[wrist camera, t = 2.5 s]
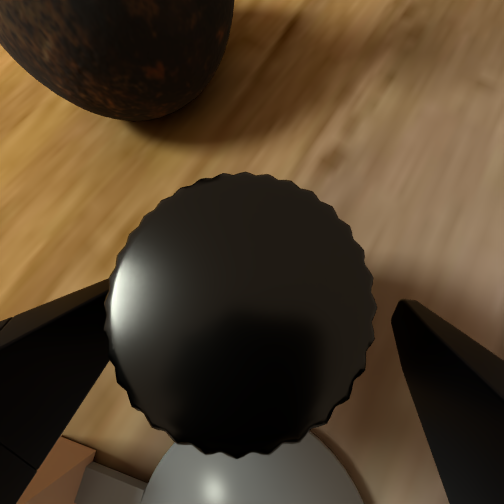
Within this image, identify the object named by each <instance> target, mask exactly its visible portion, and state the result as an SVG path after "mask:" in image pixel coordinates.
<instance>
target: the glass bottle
mask: <svg viewBox="0 0 504 504" xmlns="http://www.w3.org/2000/svg"><path fill="white" fill-rule="evenodd" d="M233 9H234V0H0V44H1V45H2V46H3V48H4V49H5V50H6V51H7V52H8V53H9V54H10V55H11V56H12V58H13V59H14V60H15V61H16V62H17V63H18V64H19V65H21V66H22V67H23V68H24V69H25V70H26V71H27V72H28V73H29V74H30V75H32V76H33V77H34V78H35V79H37V80H38V81H39V82H41V83H42V84H43V85H45V86H46V87H47V88H49V89H50V90H51V91H53V92H54V93H56V94H57V95H59V96H61V97H62V98H64V99H66V100H68V101H69V102H71V103H73V104H75V105H76V106H78V107H81V108H83V109H85V110H87V111H90V112H92V113H95V114H98V115H101V116H104V117H109V118H113V119H119V120H128V121H140V120H150V119H155V118H159V117H162V116H165V115H168V114H170V113H172V112H174V111H176V110H178V109H180V108H182V107H183V106H185V105H186V104H188V103H189V102H190V101H192V100H193V99H194V98H195V97H196V96H198V95H199V94H200V93H201V91H202V90H203V89H204V88H205V87H206V85H207V84H208V83H209V81H210V80H211V78H212V77H213V75H214V73H215V71H216V70H217V68H218V66H219V64H220V61H221V59H222V57H223V54H224V51H225V48H226V45H227V41H228V38H229V33H230V28H231V23H232V17H233Z"/></svg>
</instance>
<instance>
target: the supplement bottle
mask: <svg viewBox="0 0 504 504" xmlns="http://www.w3.org/2000/svg"><path fill="white" fill-rule="evenodd" d="M364 258H365V255H364V250H363V249H362V247H361V246H360V245H359V244H358V243H357V242H356V241H355V240H354V239H353V236H352V231H351V228H350V226H349V225H348V224H346V223H345V222H344V221H342V220H340V219H339V218H338V216H337V214H336V212H335V210H334V208H333V207H332V206H330V205H328V204H326V203H324V202H321V201H320V200H319V199H318V198H317V196H316V195H315V194H314V192H313V191H309V190H305V189H300V188H299V187H298V186H297V185H296V184H295V183H293V182H292V181H289V180H278V179H276V178H274V177H273V176H271V175H269V174H264V175H257V176H256V175H253V174H251V173H248V172H242V173H239V174H236V175H230V174H226V173H222V174H220V175H218V176H216V177H214V178H203V179H200V180H198V181H197V182H196V183H194V184H193V185H191V186H186V187H182V188H180V189H179V190H178V191H176V193H175V194H174V195H173V196H171V197H168V198H166V199H163V200H161V201H160V203H159V204H158V205H157V207H156V208H155V209H154V210H153V211H151V212H149V213H148V214H146V215H145V216H144V217H143V219H142V220H141V222H140V224H139V226H138V227H137V228H136V229H135V230H133V231H132V232H131V233H130V234H129V236H128V239H127V243H126V245H125V247H124V248H123V249H122V250H121V251H120V252H119V254H118V255H117V259H116V266H115V269H114V270H113V272H112V273H111V275H110V277H109V292H108V294H107V296H106V299H105V302H104V308H105V311H106V319H105V323H104V329H103V330H104V333H105V336H106V337H107V340H108V358H109V359H110V361H111V362H112V364H113V365H114V366H115V372H116V380H117V383H118V384H119V385H120V386H121V387H122V388H124V389H125V390H126V391H127V394H128V397H129V400H130V403H131V406H132V407H133V408H135V409H136V410H138V411H141V412H142V413H144V415H145V417H146V419H147V421H148V422H149V424H150V425H151V427H152V428H154V429H157V430H162V431H165V432H166V433H167V434H168V435H169V436H170V438H171V439H172V440H173V441H174V442H175V443H176V444H178V445H192V446H194V447H195V448H196V449H197V450H198V451H200V452H201V453H203V454H204V455H212V454H215V453H220V452H221V453H223V454H225V455H227V456H229V457H232V458H234V459H239V458H242V457H245V456H246V455H247V454H249V453H252V452H253V453H258V454H261V455H270V454H272V453H273V452H274V451H276V450H277V449H278V448H279V447H280V446H281V445H282V444H295V443H300V442H301V441H302V440H303V438H304V437H305V436H306V435H307V433H308V432H309V430H310V429H311V428H316V427H319V426H322V425H324V424H327V422H328V421H329V419H330V417H331V415H332V412H333V410H334V408H335V407H336V406H337V405H339V404H342V403H344V402H345V401H347V400H348V399H349V398H350V394H351V391H352V386H353V381H354V380H355V379H356V378H357V377H359V376H360V375H361V374H362V373H363V372H364V371H365V368H366V351H367V349H368V348H369V347H370V346H371V344H372V343H373V341H374V339H375V337H374V330H373V326H372V320H373V318H374V315H375V313H376V310H377V306H376V303H375V300H374V298H373V295H372V293H371V287H372V285H373V276H372V274H371V273H370V271H369V270H368V268H367V267H366V265H365V263H364Z"/></svg>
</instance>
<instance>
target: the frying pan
mask: <svg viewBox="0 0 504 504" xmlns="http://www.w3.org/2000/svg"><path fill="white" fill-rule="evenodd" d="M95 452H96V450H94V449H91V448H89V447H86V446H84V445H81V444H79V443H76V442H73V441H71V440H68V439H66V438H63V437H61V436H60V437H59V439H58V440H57V442H56V443H55V445H54V446H53V448H52V449H51V451H50V452H49V454H48V455H47V457H46V458H45V460H44V462H43V463H42V465H41V466H40V468H39V469H38V470H37V473H36V474H35V476H34V477H33V479H32V480H31V482H30V483H29V485H28V486H27V488H26V489H25V491H24V493H23V494H22V496H21V497H20V499H19V500H18V502H17V503H16V504H364V503H363V500H362V498H361V496H360V494H359V492H358V490H357V488H356V486H355V484H354V482H353V480H352V479H351V477H350V476H349V474H348V473H347V471H346V469H345V468H344V466H343V465H342V464H341V462H340V461H339V460H338V458H337V457H336V456H335V455H334V453H333V452H332V451H331V450H330V449H329V448H328V447H327V446H326V445H325V444H324V443H323V442H322V441H321V440H320V439H319V438H318V437H317V436H316V435H314V434H313V433H312V432H311V431H309V432H308V433H307V435H306V436H305V437H304V438H303V440H302V441H301V442H300V443H295V444H282V445H281V446H280V447H279V448H278V449H277V450H276V451H274V452H273V453H272V454H270V455H261V454H258V453H253V452H252V453H249V454H247V455H246V456H245V457H242V458H239V459H234V458H232V457H229V456H227V455H225V454H223V453H221V452H220V453H215V454H212V455H204V454H203V453H201V452H200V451H198V450H197V449H196V448H195V447H194V446H192V445H178V444H176V443H174V444H173V445H172V446H171V448H170V449H169V450H168V451H167V453H166V454H165V455H164V456H163V458H162V459H161V461H160V463H159V464H158V466H157V467H156V469H155V470H154V472H153V474H152V477H151V479H150V481H149V483H145V482H143V481H140V480H138V479H135V478H133V477H130V476H128V475H125V474H123V473H120V472H118V471H115V470H113V469H110V468H108V467H105V466H103V465H100V464H98V463H95V462H93V459H94V456H95Z"/></svg>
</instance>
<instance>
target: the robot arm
mask: <svg viewBox="0 0 504 504" xmlns="http://www.w3.org/2000/svg"><path fill="white" fill-rule="evenodd" d="M108 292H109V278H108V279H106V280H103V281H101V282H98V283H96V284H93V285H91V286H88V287H86V288H83V289H81V290H78V291H76V292H73V293H71V294H68V295H66V296H63V297H61V298H58V299H56V300H53V301H51V302H48V303H46V304H43V305H41V306H38V307H36V308H33V309H31V310H28V311H26V312H23V313H21V314H18V315H15V316H14V317H10V318H8V319H5V320H3V321H0V504H16V503H17V502H18V500H19V499H20V497H21V496H22V494H23V493H24V491H25V489H26V488H27V486H28V485H29V483H30V482H31V480H32V479H33V477H34V476H35V474H36V473H37V470H38V469H39V468H40V466H41V465H42V463H43V462H44V460H45V458H46V457H47V455H48V454H49V452H50V451H51V449H52V448H53V446H54V445H55V443H56V442H57V440H58V439H59V437H60V436H61V434H62V432H63V431H64V429H65V428H66V426H67V425H68V423H69V422H70V420H71V419H72V417H73V416H74V414H75V413H76V411H77V410H78V408H79V406H80V405H81V403H82V402H83V400H84V399H85V397H86V396H87V394H88V393H89V391H90V390H91V388H92V387H93V385H94V383H95V382H96V380H97V379H98V377H99V376H100V374H101V373H102V371H103V370H104V368H105V367H106V365H107V364H108V362H109V361H110V359H109V358H108V340H107V337H106V336H105V333H104V330H103V329H104V323H105V319H106V311H105V308H104V302H105V299H106V296H107V294H108ZM391 324H392V328H393V333H394V337H395V341H396V345H397V350H398V354H399V358H400V362H401V366H402V370H403V373H404V376H405V379H406V382H407V385H408V387H409V390H410V393H411V396H412V399H413V401H414V404H415V407H416V410H417V413H418V416H419V418H420V421H421V424H422V427H423V430H424V432H425V435H426V438H427V441H428V444H429V447H430V449H431V452H432V455H433V458H434V461H435V463H436V466H437V469H438V472H439V475H440V478H441V480H442V483H443V486H444V489H445V492H446V494H447V497H448V500H449V503H450V504H504V360H502V359H501V358H499V357H498V356H496V355H495V354H493V353H492V352H490V351H489V350H487V349H486V348H485V347H483V346H482V345H480V344H479V343H477V342H476V341H474V340H473V339H471V338H470V337H469V336H467V335H466V334H464V333H463V332H461V331H460V330H458V329H457V328H455V327H454V326H453V325H451V324H450V323H448V322H447V321H445V320H444V319H442V318H441V317H439V316H438V315H437V314H435V313H434V312H432V311H431V310H429V309H428V308H426V307H425V306H423V305H422V304H421V303H419V302H418V301H416V300H409V299H401V300H400V301H399V302H398V304H397V306H396V309H395V311H394V313H393V315H392V319H391Z"/></svg>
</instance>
